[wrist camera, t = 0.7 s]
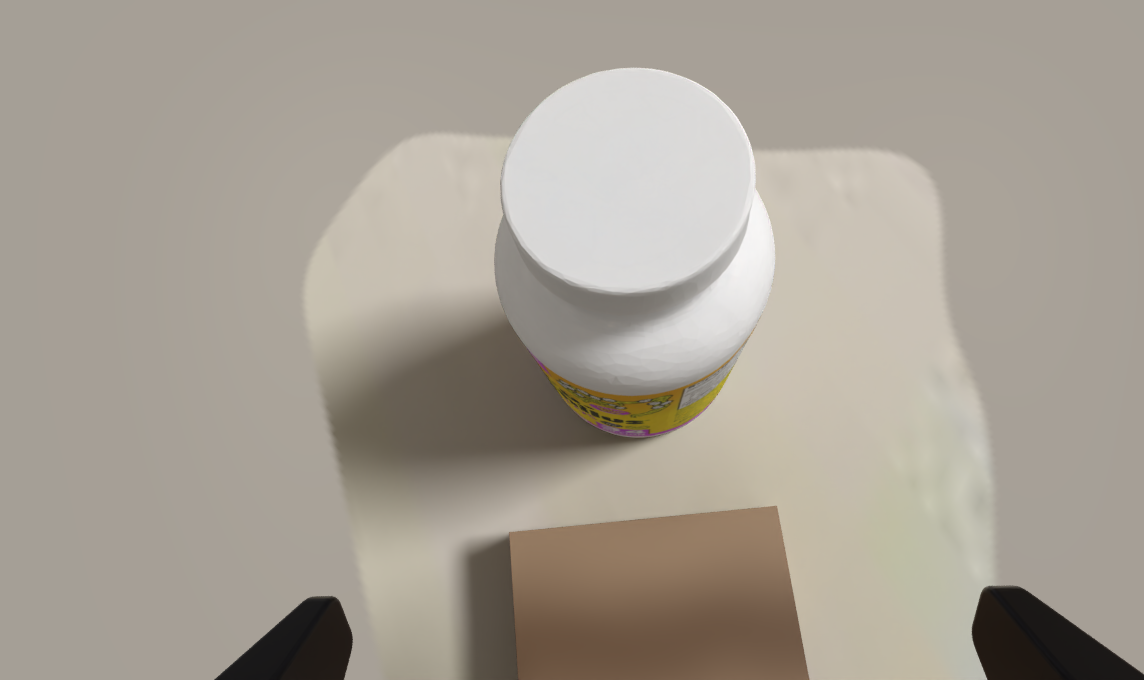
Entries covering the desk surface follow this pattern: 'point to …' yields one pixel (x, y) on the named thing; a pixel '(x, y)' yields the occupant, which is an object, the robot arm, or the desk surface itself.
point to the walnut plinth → (657, 600)
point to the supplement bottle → (633, 247)
